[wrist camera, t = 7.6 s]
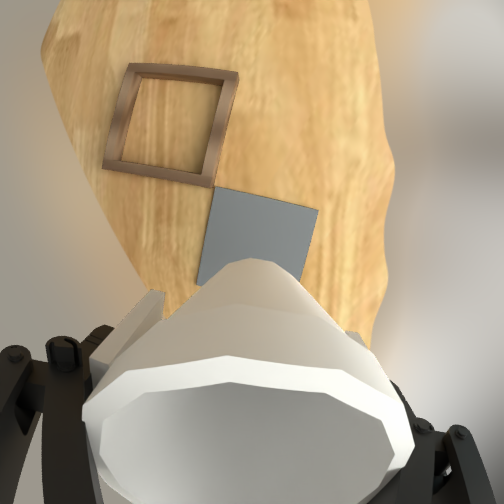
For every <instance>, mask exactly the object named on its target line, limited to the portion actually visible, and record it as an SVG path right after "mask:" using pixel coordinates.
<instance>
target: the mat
mask: <svg viewBox="0 0 504 504" xmlns="http://www.w3.org/2000/svg"><path fill="white" fill-rule="evenodd" d="M318 211H319V210H315V209H311V208H307V207H303V206H299V205H295V204H291V203H287V202H283V201H279V200H275V199H270V198H266V197H262V196H257V195H253V194H249V193H244V192H240V191H235V190H230V189H226V188H221V187H215V192H214V196H213V201H212V206H211V211H210V215H209V220H208V225H207V230H206V235H205V241H204V246H203V251H202V256H201V262H200V267H199V273H198V278H197V284H196V285H198V286H203V285H204V284H205V283H206V282H207V281H208V280H209V279H211V278H212V277H213V276H214V275H215V274H216V273H218V272H219V271H220V270H221V269H222V268H223V267H225V266H226V265H227V264H229V263H233V262H236V261H240V260H244V259H248V258H254V259H260V260H265V261H271V262H274V263H276V264H277V265H278V266H280V267H281V268H283V269H284V270H285V271H287V272H288V273H290V274H291V275H292V276H293V277H294V278H295V279H296V280H297V281H298V282H300V278H301V275H302V271H303V268H304V264H305V260H306V257H307V253H308V250H309V246H310V242H311V238H312V235H313V231H314V227H315V223H316V219H317V215H318Z"/></svg>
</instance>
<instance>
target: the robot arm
mask: <svg viewBox="0 0 504 504" xmlns="http://www.w3.org/2000/svg"><path fill="white" fill-rule="evenodd" d="M164 298H165V292H161V291H157V290H154V289H151V290H150V291H149V292H148V293H147V294H146V295H145V296H144V297H143V298H142V299H141V301H140V302H139V303H138V304H137V305H136V306H135V307H134V308H133V309H132V310H131V311H130V313H128V315H127V316H126V317H125V318H124V319H123V320H122V321H121V322H120V323H119V324H118V325H117V327H116V328H113V327H110V326H107V325H102V326H100V327H98V328H96V329H94V330H93V331H92V332H91V333H90V335H89V336H87V337H86V338H85V340H83V342H81V343H79V342H78V341H77V340H75V339H73V338H72V337H67V336H57V337H54V338H51V339H50V340H49V341H47V343H46V345H45V346H46V353H47V358H48V362H42V361H38V360H33V359H32V358H31V354H30V351H29V350H28V349H27V348H25V347H23V346H19V345H11V346H8V347H6V348H5V349H3V350H2V351H1V353H0V504H13V502H14V497H15V493H16V489H17V486H18V482H19V478H20V475H21V471H22V468H23V464H24V461H25V458H26V454H27V452H28V448H29V446H30V443H31V440H32V437H33V434H34V431H35V429H36V426H37V423H38V421H39V418H40V416H41V413H43V421H42V483H43V497H44V504H104V503H103V498H102V494H101V489H100V484H99V479H98V474H97V467H96V464H95V460H94V457H93V453H92V449H91V446H90V442H89V438H88V433H87V429H86V424H85V422H84V421H82V406H83V404H84V403H85V402H86V400H87V399H88V397H89V396H90V395H91V393H92V392H93V390H94V389H95V388H96V386H97V385H98V383H99V382H100V381H101V379H102V378H103V376H104V375H105V374H106V372H107V371H108V370H109V368H110V367H111V365H112V364H113V363H114V361H115V360H116V359H117V358H118V357H119V356H120V355H121V354H122V353H123V352H124V351H125V350H127V349H128V348H129V347H130V346H131V345H132V344H133V343H135V342H136V341H137V340H138V339H139V338H140V337H141V336H143V335H144V334H145V333H146V332H147V331H148V330H149V329H151V328H152V327H153V326H154V325H155V324H156V323H157V322H159V321H160V320H162V315H163V307H164ZM345 333H346V334H347V335H348V336H349V337H350V338H351V339H353V340H354V341H356V342H357V343H359V344H360V345H362V346H363V347H365V348H366V349H368V348H367V346H366V345H365V343H364V342H363V340H362V338H361V337H360V335H359V333H357V332H351V331H345ZM389 381H390V382H391V384H392V386H393V387H394V389H395V391H396V392H397V394H398V396H399V398H400V399H401V401H402V403H403V404H404V407H405V411H406V414H407V418H408V421H409V425H410V429H411V433H412V436H413V440H414V444H415V447H414V449H413V451H412V453H411V455H410V457H409V459H408V461H407V463H406V465H405V466H404V467H402V468H401V469H400V470H399V471H398V472H397V474H396V475H395V476H394V477H393V478H392V479H391V480H390V481H389V482H388V483H387V484H386V485H385V486H384V487H383V488H382V489H381V490H380V491H379V492H378V493H377V494H376V495H375V496H374V497H373V498H372V499H371V500H370V501H369V502H368V503H367V504H496V501H495V498H494V495H493V491H492V488H491V485H490V482H489V479H488V476H487V473H486V470H485V468H484V465H483V462H482V459H481V457H480V454H479V452H478V449H477V446H476V444H475V442H474V439H473V437H472V434H471V433H470V431H469V430H468V429H467V428H466V427H464V426H461V425H452V426H451V427H450V428H449V430H448V431H447V432H446V433H444V432H439V431H434V427H433V426H432V425H431V423H429V422H428V421H427V420H425V419H422V418H417V417H416V416H415V415H414V413H413V411H412V409H411V407H410V406H409V404H408V402H407V401H405V397H404V396H403V395H402V392H401V391H400V389H399V387H398V386H397V385H396V384H394V383H393V382H392V381H391V380H389ZM450 466H451V470H452V471H451V473H450V474H449V475H447V473H446V470H447V469H448V468H449V467H450Z"/></svg>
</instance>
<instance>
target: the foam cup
mask: <svg viewBox="0 0 504 504" xmlns="http://www.w3.org/2000/svg"><path fill="white" fill-rule="evenodd" d="M82 421H84V422H85V424H86V429H87V433H88V438H89V442H90V446H91V449H92V453H93V457H94V460H95V464H96V467H97V471H98V473H99V474H100V475H101V477H102V478H103V480H104V481H105V482H106V484H108V485H109V486H110V487H111V488H113V489H114V490H115V491H117V492H118V493H119V494H121V495H122V496H123V497H125V498H126V499H128V500H129V501H130V502H132V503H133V504H367V503H368V502H369V501H370V500H371V499H372V498H373V497H374V496H375V495H376V494H377V493H378V492H379V491H380V490H381V489H382V488H383V487H384V486H385V485H386V484H387V483H388V482H389V481H390V480H391V479H392V478H393V477H394V476H395V475H396V474H397V472H398V471H399V470H400V469H401V468H402V467H404V466H405V465H406V463H407V461H408V459H409V457H410V455H411V453H412V451H413V449H414V447H415V444H414V440H413V436H412V433H411V429H410V425H409V421H408V418H407V414H406V411H405V407H404V404H403V403H402V401H401V399H400V398H399V396H398V394H397V392H396V391H395V389H394V387H393V386H392V384H391V382H390V381H389V379H388V377H387V376H386V374H385V372H384V371H383V369H382V367H381V366H380V364H379V362H378V361H377V359H376V357H375V356H374V354H373V353H372V352H371V351H369V350H368V349H366V348H365V347H363V346H362V345H360V344H359V343H357V342H356V341H354V340H353V339H351V338H350V337H349V336H348V335H347V334H346V333H345V332H344V331H343V330H342V329H341V328H340V327H339V326H338V324H337V323H336V322H335V321H334V320H333V319H332V318H331V317H330V316H329V315H328V313H327V312H326V311H325V310H324V309H323V308H322V307H321V306H320V305H319V304H318V303H317V301H316V300H315V299H314V298H313V297H312V296H311V295H310V294H309V293H308V292H307V291H306V290H305V288H304V287H303V286H302V285H301V284H300V283H299V282H298V281H297V280H296V279H295V278H294V277H293V276H292V275H291V274H290V273H288V272H287V271H285V270H284V269H283V268H281V267H280V266H278V265H277V264H276V263H274V262H271V261H265V260H260V259H254V258H248V259H244V260H240V261H236V262H233V263H229V264H227V265H226V266H225V267H223V268H222V269H221V270H220V271H219V272H218V273H216V274H215V275H214V276H213V277H212V278H211V279H209V280H208V281H207V282H206V283H205V284H204V285H203V286H202V287H201V288H200V289H199V290H198V291H197V292H195V293H194V294H193V295H192V296H191V297H190V298H189V299H188V300H187V301H186V302H185V303H184V304H183V305H182V306H181V307H180V308H178V309H177V310H176V311H175V312H174V313H173V314H172V315H171V316H170V317H169V318H168V319H165V320H160V321H159V322H157V323H156V324H155V325H154V326H153V327H152V328H151V329H149V330H148V331H147V332H146V333H145V334H144V335H143V336H141V337H140V338H139V339H138V340H137V341H136V342H135V343H133V344H132V345H131V346H130V347H129V348H128V349H127V350H125V351H124V352H123V353H122V354H121V355H120V356H119V357H118V358H117V359H116V360H115V361H114V363H113V364H112V365H111V367H110V368H109V370H108V371H107V372H106V374H105V375H104V376H103V378H102V379H101V381H100V382H99V383H98V385H97V386H96V388H95V389H94V390H93V392H92V393H91V395H90V396H89V397H88V399H87V400H86V402H85V403H84V404H83V406H82Z"/></svg>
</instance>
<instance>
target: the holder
mask: <svg viewBox="0 0 504 504" xmlns="http://www.w3.org/2000/svg"><path fill="white" fill-rule="evenodd" d="M142 78H153V79H168V80H179V81H189V82H198V83H205V84H213V85H220V86H223V88H222V91H221V95H220V99H219V103H218V106H217V110H216V114H215V118H214V122H213V126H212V130H211V134H210V138H209V143H208V147H207V151H206V156H205V160H204V164H203V169H202V173H201V175H200V174H195V173H190V172H185V171H179V170H174V169H168V168H162V167H156V166H150V165H144V164H138V163H131V162H124V161H121V159H122V154H123V149H124V145H125V140H126V136H127V131H128V127H129V123H130V119H131V115H132V111H133V108H134V104H135V100H136V97H137V93H138V90H139V86H140V83H141V80H142ZM238 83H239V75H238V72H234V71H227V70H220V69H213V68H204V67H195V66H185V65H172V64H154V63H129V64H128V67H127V70H126V73H125V77H124V80H123V83H122V86H121V90H120V93H119V96H118V100H117V104H116V107H115V111H114V115H113V119H112V123H111V127H110V131H109V136H108V140H107V145H106V150H105V155H104V160H103V165H102V169H106V170H112V171H119V172H125V173H131V174H137V175H143V176H149V177H154V178H160V179H165V180H171V181H176V182H181V183H187V184H192V185H197V186H202V187H207V188H213V186H214V182H215V177H216V173H217V168H218V164H219V159H220V155H221V151H222V146H223V142H224V138H225V134H226V130H227V126H228V122H229V118H230V114H231V110H232V106H233V102H234V98H235V94H236V90H237V87H238Z"/></svg>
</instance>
